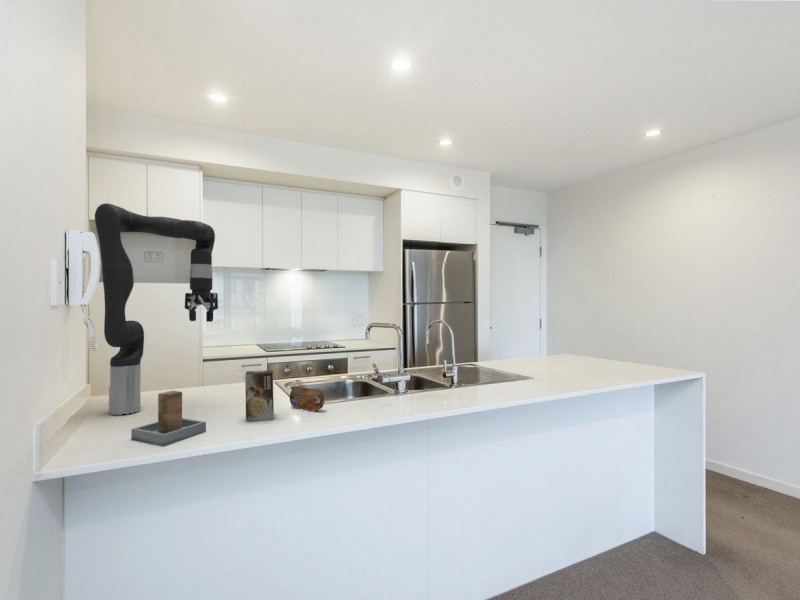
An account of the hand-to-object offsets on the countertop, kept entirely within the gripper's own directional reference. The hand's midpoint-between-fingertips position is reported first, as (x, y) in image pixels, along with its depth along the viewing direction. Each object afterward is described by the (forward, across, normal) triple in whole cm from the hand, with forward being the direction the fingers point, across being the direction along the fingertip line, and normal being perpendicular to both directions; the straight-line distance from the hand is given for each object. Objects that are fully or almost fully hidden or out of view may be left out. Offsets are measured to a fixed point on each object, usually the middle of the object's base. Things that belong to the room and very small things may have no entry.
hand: (201, 321), depth 150 cm
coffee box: (+33, +26, +2) cm, 42 cm away
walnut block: (+32, +14, -23) cm, 42 cm away
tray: (+33, +14, -23) cm, 43 cm away
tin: (+33, +34, +18) cm, 51 cm away
